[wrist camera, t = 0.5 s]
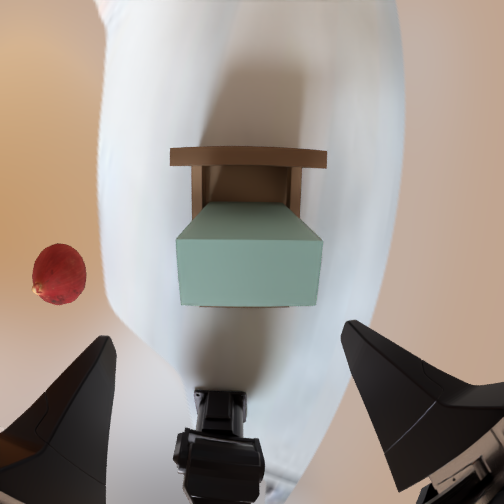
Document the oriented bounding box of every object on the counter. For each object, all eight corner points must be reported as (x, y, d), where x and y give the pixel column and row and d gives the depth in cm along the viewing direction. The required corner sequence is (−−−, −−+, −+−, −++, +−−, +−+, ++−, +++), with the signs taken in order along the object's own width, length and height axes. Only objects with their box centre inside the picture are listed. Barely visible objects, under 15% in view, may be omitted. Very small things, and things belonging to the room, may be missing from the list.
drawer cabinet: (287, 302, 27) (305, 360, 18) (201, 302, 26) (185, 360, 18) (296, 156, 22) (327, 151, 14) (196, 154, 22) (170, 148, 14)
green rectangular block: (280, 239, 23) (315, 308, 12) (210, 238, 23) (181, 308, 12) (281, 202, 22) (323, 240, 11) (209, 201, 22) (175, 239, 11)
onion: (107, 280, 25) (69, 318, 18) (71, 290, 26) (32, 325, 18) (87, 228, 24) (39, 252, 16) (52, 243, 24) (6, 269, 16)
